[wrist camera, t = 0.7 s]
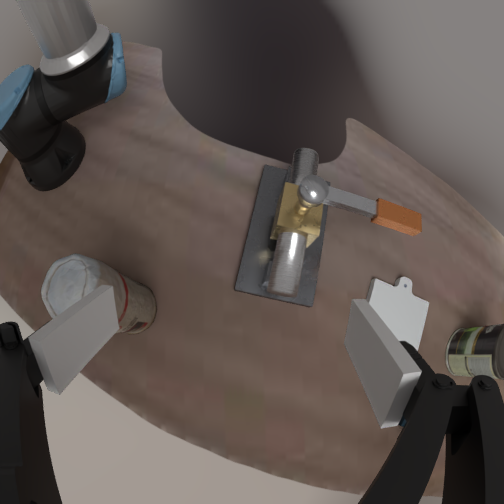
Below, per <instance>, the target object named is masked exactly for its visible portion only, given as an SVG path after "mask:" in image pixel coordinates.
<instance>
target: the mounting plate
mask: <svg viewBox="0 0 504 504" xmlns="http://www.w3.org/2000/svg"><path fill="white" fill-rule="evenodd" d="M411 290H412V281H411V280H410V279H408V278H406V277H401V278H398V279H396V281H395V285H394V286H392V285H390V284H388V283H385V282H383V281H381V280H379V279H376V278H375V279H372V280H371V284H370V287H369V291H368V295H367V298H366V300H367V302H368V303H369V304H370V305H371V307H372V308H373V309H374V310H375V312H376V313H377V314H378V315H379V316H380V318H381V319H382V320H383V321H384V323H385V324H386V325H387V326H388V328H389V329H390V330H391V332H392V333H393V334H394V335H395V337H396V338H397V339H398V340H399V341H406V342H408V343H409V344H411V345H412V346H414V348H415V349H416V350H417V351H418V347H419V344H420V340H421V336H422V332H423V328H424V324H425V320H426V315H427V311H428V306H429V302H427V301H425V300H423V299H420V298H418V297H416V296H414V295H413V294H412V291H411Z"/></svg>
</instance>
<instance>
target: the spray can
mask: <svg viewBox="0 0 504 504" xmlns="http://www.w3.org/2000/svg"><path fill="white" fill-rule="evenodd" d="M101 285H109V286H113V291H114V299H115V306H116V312H117V318H118V324H119V330H118V331H117V332H116V333H127V334H138V333H140V332H142V331H144V330H145V329H147V328H149V327H150V326H151V324H152V323H153V322H154V319H155V315H156V311H157V308H156V301H155V298H154V295H153V293H152V291H151V290H150V289H149V288H147V287H146V286H145V285H143V284H141V283H138V282H135V281H133V280H132V279H130V278H129V277H126V276H125V275H123V274H121V273H120V272H118V271H117V270H115V269H113V268H111V267H109V266H108V265H106V264H105V263H103V262H102V261H100V260H97V259H93V258H89V257H86V256H83V255H80V254H76V253H75V254H72V255H70V256H67V257H64V258H61V259H59V260H57V261H55V262H54V263H53V264H52V266H51V268H50V269H49V270H48V272H47V275H46V277H45V280H44V283H43V286H42V289H41V294H42V299H43V302H44V304H45V306H46V308H47V310H48V312H49V314H50V316H51V317H52V319H54V318H55V317H57V316H58V315H59V314H61V313H62V312H63V311H65V310H66V309H68V308H69V307H71V306H72V305H73V304H75V303H76V302H78V301H79V300H81V299H82V298H83V297H85V296H86V295H88V294H89V293H91V292H92V291H94V290H95V289H97V288H98V287H99V286H101Z"/></svg>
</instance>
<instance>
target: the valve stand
mask: <svg viewBox="0 0 504 504" xmlns="http://www.w3.org/2000/svg"><path fill="white" fill-rule="evenodd" d="M318 161H319V155H318V154H317V153H316V152H315V151H314V150H312V149H309V148H300V149H297V150H296V151H295V152H294V156H293V162H292V167H290V166H289V168H288V170H285V169H281V168H277V167H273V166H269V165H265V166H264V170H263V174H262V178H261V182H260V187H259V191H258V195H257V199H256V203H255V207H254V211H253V215H252V219H251V223H250V228H249V232H248V236H247V240H246V244H245V248H244V252H243V257H242V261H241V265H240V269H239V273H238V278H237V282H236V286H235V291H239V292H243V293H247V294H252V295H256V296H260V297H265V298H269V299H274V300H278V301H283V302H287V303H292V304H296V305H301V306H306V307H312V306H313V300H314V295H315V289H316V283H317V277H318V271H319V265H320V259H321V252H322V245H323V238H324V231H325V224H326V216H327V208H328V205H327V204H323V203H322V204H321V205H319V206H317V207H308V206H306V205H304V204H303V203H302V202H301V201H300V200H299V199H298V196H297V189H298V186H299V185H300V183H301V181H302V179H303V178H304V177H305V176H307V175H317V169H318ZM326 183H327V184H328V186H330V182H327V181H326Z"/></svg>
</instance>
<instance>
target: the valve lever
mask: <svg viewBox="0 0 504 504" xmlns="http://www.w3.org/2000/svg"><path fill="white" fill-rule="evenodd" d="M297 196H298V199H299V200H300V201H301V202H302V203H303V204H304V205H306V206H308V207H317V206H319V205H321V204H322V203H323V204H327V205H330V206H334V207H337V208H340V209H344V210H347V211H350V212H354V213H357V214H360V215H363V216H366V217H369V218H371V222H373V223H376V224H379V225H382V226H385V227H388V228H391V229H394V230H397V231H400V232H403V233H406V234H409V235H412V236H415V235H416V234H418V233H420V232H422V224H421V214H420V213H417V212H415V211H412V210H410V209H407V208H404V207H402V206H399V205H396V204H394V203H391V202H388V201H386V200H383V199H380V198H378V199H377V200H376V201H374V200H371V199H368V198H365V197H362V196H359V195H356V194H353V193H350V192H346V191H343V190H340V189H337V188H334V187H330V186H328V184H327V183H326V181H325V180H324V179H323V178H321V177H319V176H317V175H307V176H305V177H304V178H303V179H302V181H301V183H300V185H299V186H298V189H297Z"/></svg>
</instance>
